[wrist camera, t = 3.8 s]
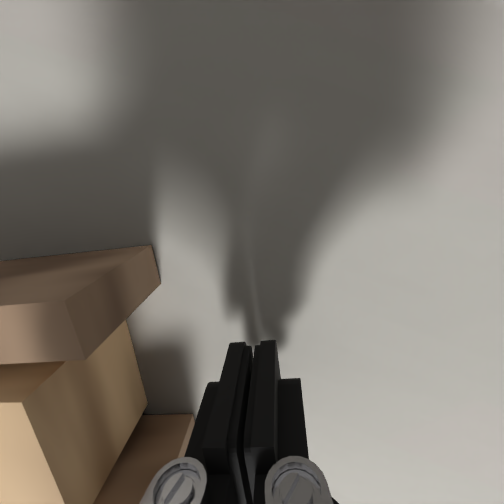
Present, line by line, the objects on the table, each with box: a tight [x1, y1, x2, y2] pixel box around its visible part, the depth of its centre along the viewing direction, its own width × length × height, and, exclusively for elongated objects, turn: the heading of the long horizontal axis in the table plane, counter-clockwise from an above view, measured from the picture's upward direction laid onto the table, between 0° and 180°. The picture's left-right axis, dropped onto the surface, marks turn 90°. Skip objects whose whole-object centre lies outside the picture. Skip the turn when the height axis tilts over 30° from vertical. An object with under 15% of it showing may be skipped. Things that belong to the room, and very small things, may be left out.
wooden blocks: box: [0, 245, 195, 504], centre depth 11 cm, size 10×10×4 cm
